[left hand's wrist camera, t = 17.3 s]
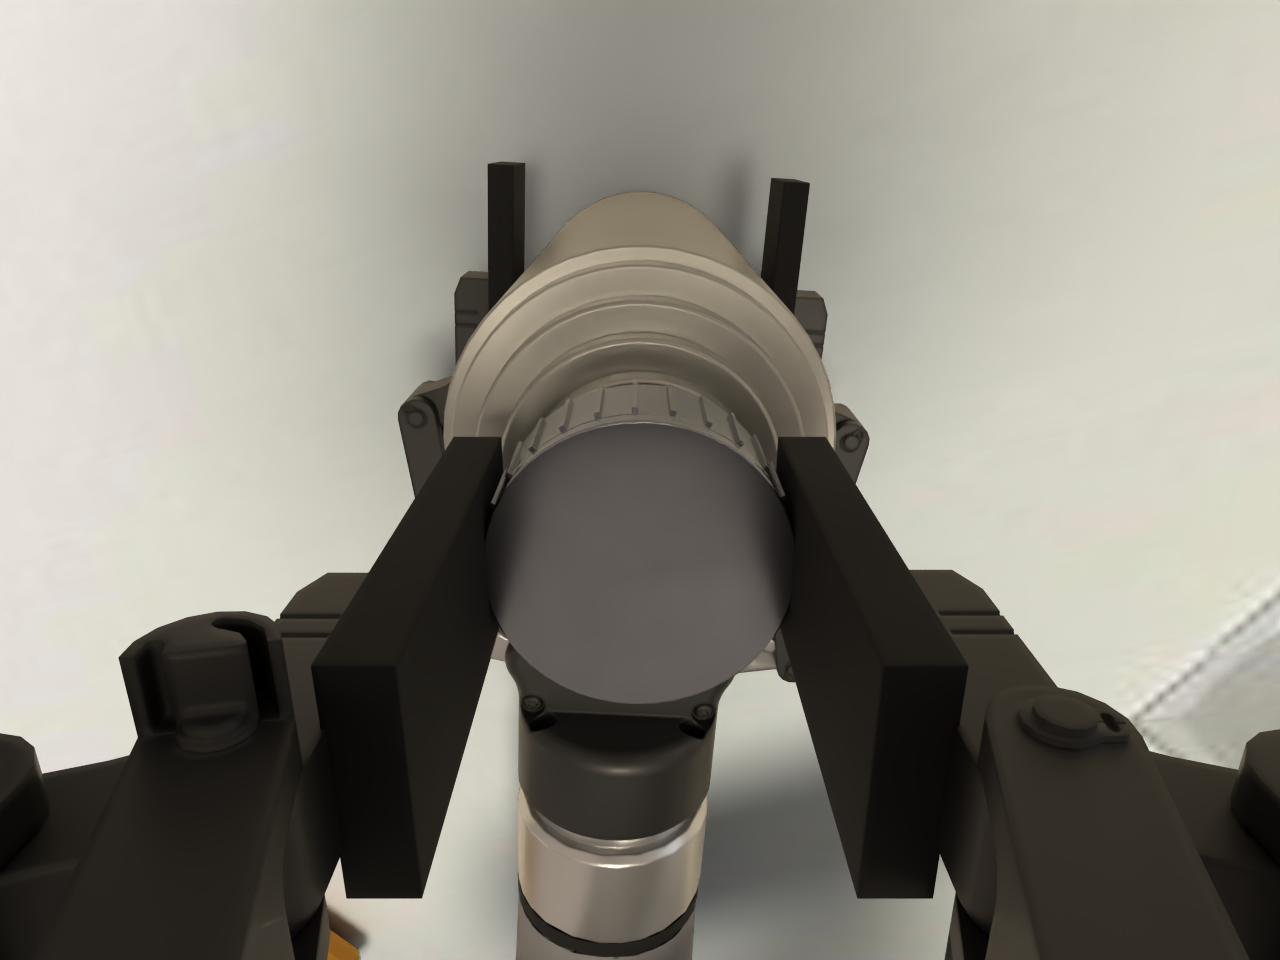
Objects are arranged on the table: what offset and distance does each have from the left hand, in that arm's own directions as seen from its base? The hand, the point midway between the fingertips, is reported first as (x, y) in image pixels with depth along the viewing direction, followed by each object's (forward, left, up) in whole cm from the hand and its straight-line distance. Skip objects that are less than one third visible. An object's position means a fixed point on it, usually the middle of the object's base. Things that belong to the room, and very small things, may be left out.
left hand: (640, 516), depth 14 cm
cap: (0, 0, +2) cm, 2 cm away
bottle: (0, 0, -21) cm, 21 cm away
